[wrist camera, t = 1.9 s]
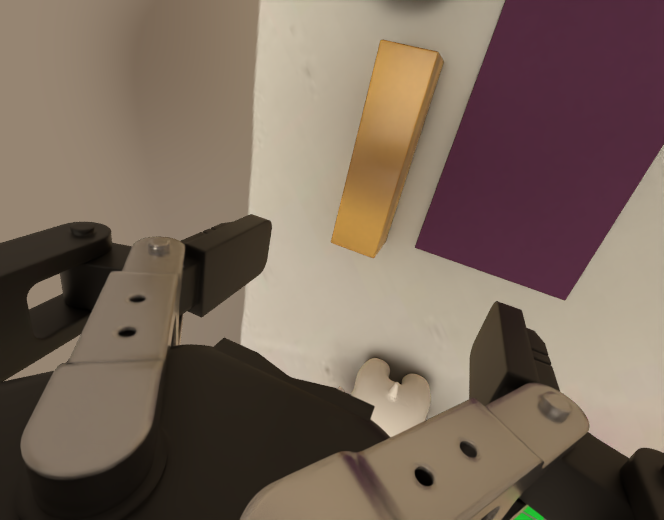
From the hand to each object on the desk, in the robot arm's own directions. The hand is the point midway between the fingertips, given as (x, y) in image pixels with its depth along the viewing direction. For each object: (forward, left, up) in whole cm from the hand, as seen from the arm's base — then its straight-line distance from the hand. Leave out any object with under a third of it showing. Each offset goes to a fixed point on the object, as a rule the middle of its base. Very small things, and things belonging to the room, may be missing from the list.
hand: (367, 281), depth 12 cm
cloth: (-6, +6, -16) cm, 18 cm away
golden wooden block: (-2, -3, -16) cm, 16 cm away
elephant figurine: (+19, +3, -16) cm, 25 cm away
